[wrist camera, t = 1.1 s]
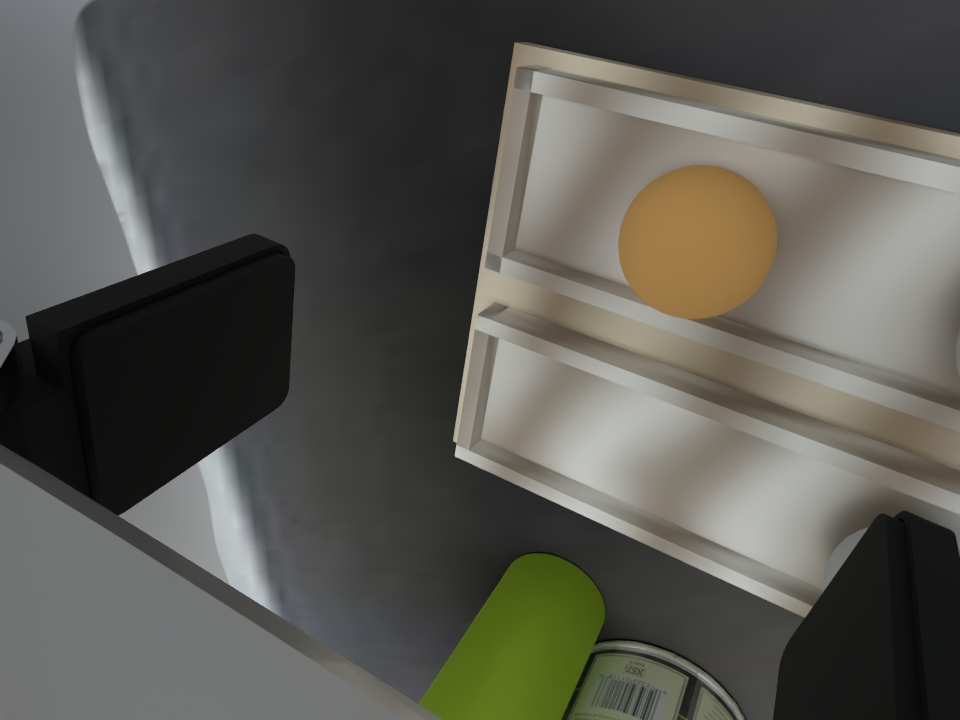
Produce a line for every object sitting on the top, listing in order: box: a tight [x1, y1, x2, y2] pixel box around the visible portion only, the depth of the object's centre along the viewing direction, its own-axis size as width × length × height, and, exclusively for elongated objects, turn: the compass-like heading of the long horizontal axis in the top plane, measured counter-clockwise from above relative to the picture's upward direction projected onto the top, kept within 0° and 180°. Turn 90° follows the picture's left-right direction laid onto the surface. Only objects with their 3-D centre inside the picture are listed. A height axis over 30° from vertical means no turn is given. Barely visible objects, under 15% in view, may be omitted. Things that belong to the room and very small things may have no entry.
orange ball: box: [618, 165, 777, 319], centre depth 23 cm, size 5×5×5 cm
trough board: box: [453, 42, 960, 618], centre depth 26 cm, size 24×19×3 cm
